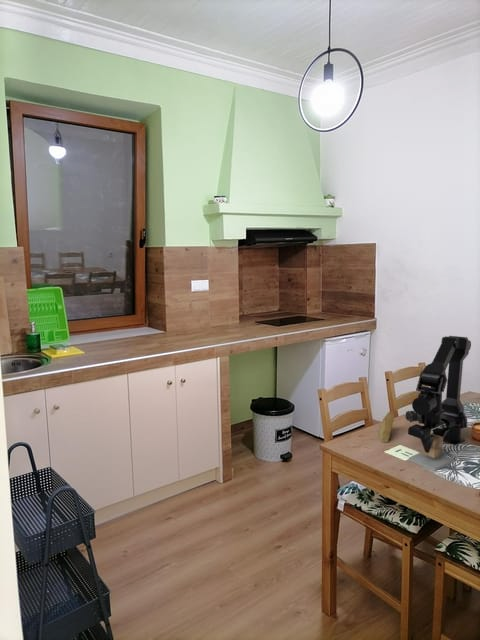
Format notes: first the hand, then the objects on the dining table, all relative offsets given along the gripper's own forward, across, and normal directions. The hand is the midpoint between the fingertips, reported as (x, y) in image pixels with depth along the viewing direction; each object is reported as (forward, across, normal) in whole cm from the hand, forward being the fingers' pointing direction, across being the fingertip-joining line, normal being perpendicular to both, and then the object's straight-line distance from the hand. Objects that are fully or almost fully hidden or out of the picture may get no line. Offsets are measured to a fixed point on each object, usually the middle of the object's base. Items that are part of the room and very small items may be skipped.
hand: (431, 450), depth 156 cm
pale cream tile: (+4, +2, -10) cm, 11 cm away
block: (+1, 0, 0) cm, 1 cm away
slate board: (+4, 0, 0) cm, 4 cm away
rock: (+4, -4, -23) cm, 24 cm away
